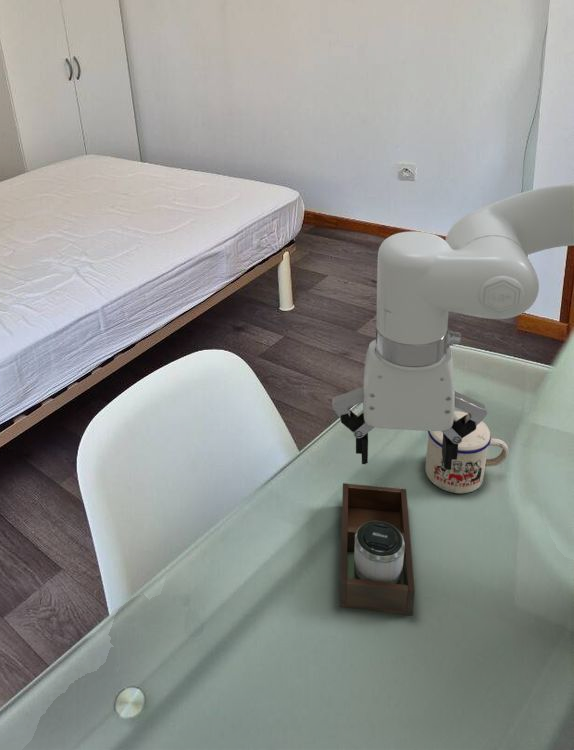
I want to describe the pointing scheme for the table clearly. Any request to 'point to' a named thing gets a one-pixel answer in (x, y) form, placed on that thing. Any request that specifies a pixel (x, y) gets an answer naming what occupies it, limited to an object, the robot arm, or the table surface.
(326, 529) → the table surface
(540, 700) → the table surface
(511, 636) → the table surface
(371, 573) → the camera lens
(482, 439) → the teacup with lid
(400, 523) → the holder
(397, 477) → the table surface
